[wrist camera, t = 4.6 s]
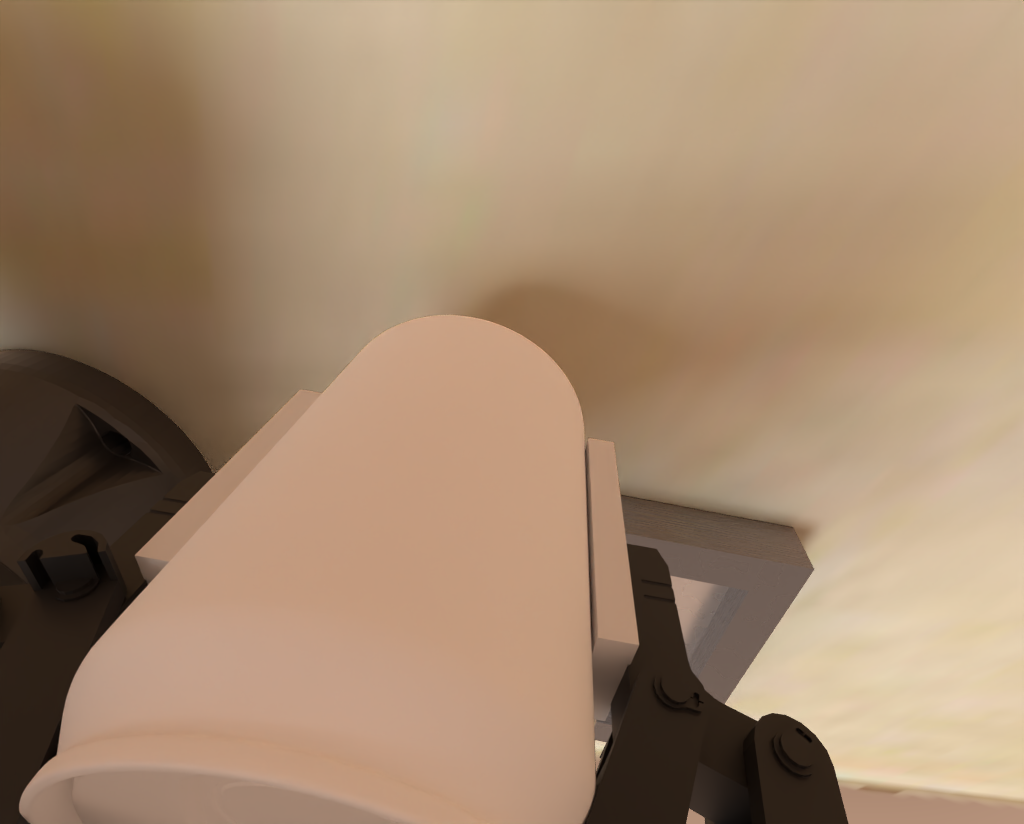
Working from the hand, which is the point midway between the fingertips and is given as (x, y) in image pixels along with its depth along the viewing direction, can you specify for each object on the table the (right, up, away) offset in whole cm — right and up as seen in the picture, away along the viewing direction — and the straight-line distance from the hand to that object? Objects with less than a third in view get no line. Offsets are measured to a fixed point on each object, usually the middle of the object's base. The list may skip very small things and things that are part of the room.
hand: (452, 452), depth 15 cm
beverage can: (0, +1, +2) cm, 2 cm away
